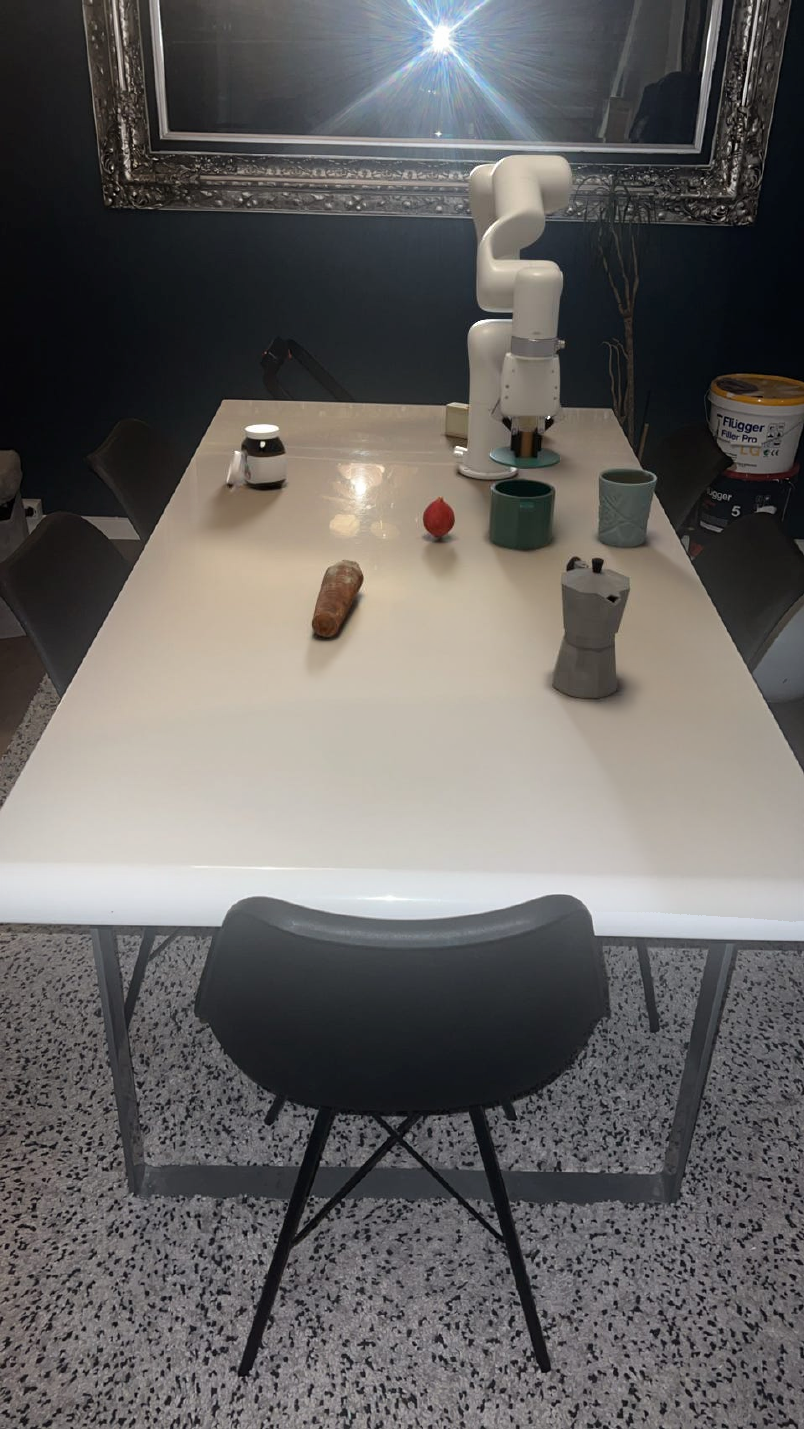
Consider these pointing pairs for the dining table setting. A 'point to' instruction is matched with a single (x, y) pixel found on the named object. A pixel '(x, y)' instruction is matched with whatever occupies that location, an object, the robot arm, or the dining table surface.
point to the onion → (438, 518)
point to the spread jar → (260, 458)
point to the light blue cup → (624, 505)
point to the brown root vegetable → (336, 596)
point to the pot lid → (525, 454)
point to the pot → (521, 513)
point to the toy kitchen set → (460, 417)
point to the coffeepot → (589, 629)
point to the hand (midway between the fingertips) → (525, 454)
